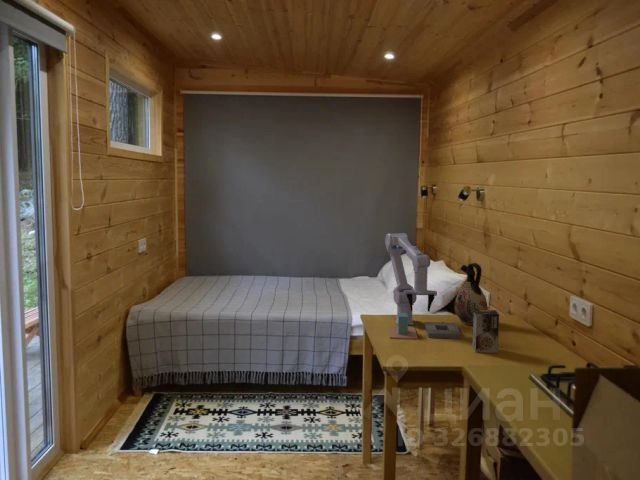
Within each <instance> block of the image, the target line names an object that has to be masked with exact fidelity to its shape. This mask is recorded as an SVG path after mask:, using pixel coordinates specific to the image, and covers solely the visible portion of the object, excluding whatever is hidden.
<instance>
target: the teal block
mask: <svg viewBox="0 0 640 480" xmlns="http://www.w3.org/2000/svg"><path fill="white" fill-rule="evenodd" d="M397 327H398V334H408V327H409V325H408V315H407V313H398V324H397Z"/></svg>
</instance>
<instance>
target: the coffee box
mask: <svg viewBox="0 0 640 480" xmlns="http://www.w3.org/2000/svg"><path fill="white" fill-rule="evenodd" d="M499 322H500V314H499V313H498V311H497V310H495V309H488V310H474V317H473V325H472V349H473V351H474V353H486V354H487V353H488V354H489V353H491V354H492V353H493V354H496V353H497V354H498V353H499V330H500V329H499V325H500V323H499Z"/></svg>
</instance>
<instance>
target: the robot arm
mask: <svg viewBox="0 0 640 480" xmlns="http://www.w3.org/2000/svg"><path fill="white" fill-rule="evenodd" d="M384 243H385V248H386V251H387V253H388V254H389V257H390V261H391V266H392V270H393V273H394V277H395V282H396V287H395V288H394V289H393V290H392V291H393V301H394V303H395V304H396V305H397V307H396V309H397V311H396V318H395V324H396V325H398V313H407V315H408V326H410V325H414V320H413V306H414V305H415V303H416V301H417V298H418V297H417V296H427V312H430V311H431V306H432V305H433V302H434V301H435V297H437V296H438V292H437V290H429V289H428V268H429V267H430V266H431V258H430V256H429V255H428V254H424V253H423V252H422V251H420V249H419V248H418V247H417V246H416V245H415V246H414V245H412V244H411V242H410V241H409V237H408V235H407V233H405V232H402V233H387V234H386V235H385V239H384ZM404 251H405V252H406V256H407V257H408V258H409V259H410V260H411V262H412V267H413V269H412V270H413V272H414V283H413V284H414V285H413V286H414V287H413V286H412V285H411V284H409V283H408V278H407V275H406V272H405V267H404V263H403V259H402V255H401V254H402V252H404Z"/></svg>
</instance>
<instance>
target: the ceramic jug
mask: <svg viewBox="0 0 640 480" xmlns="http://www.w3.org/2000/svg"><path fill="white" fill-rule="evenodd" d="M475 270H476V271H475ZM460 271H462V272H464V273H465V274H466V275H467V278H466V281H465V283H464V284H463V285H462V286H461V287H460V289H459V291H458V293H457V295H456V298H455V301H454V312H455V315H456V316H457V317H458V319H459V321H460V322H461V324H463V325H469V326H473V317H474V310H489V309H488V302H487V301H488V300H487V298H486V295H485V293H484V292H483V290H482V289H481V287H480V282H481V279H482V278H481V277H482V267H481V265H480V264H478V263H477V262H470V263H468V265H466V264H463V265H462V266H461V267H460Z"/></svg>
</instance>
